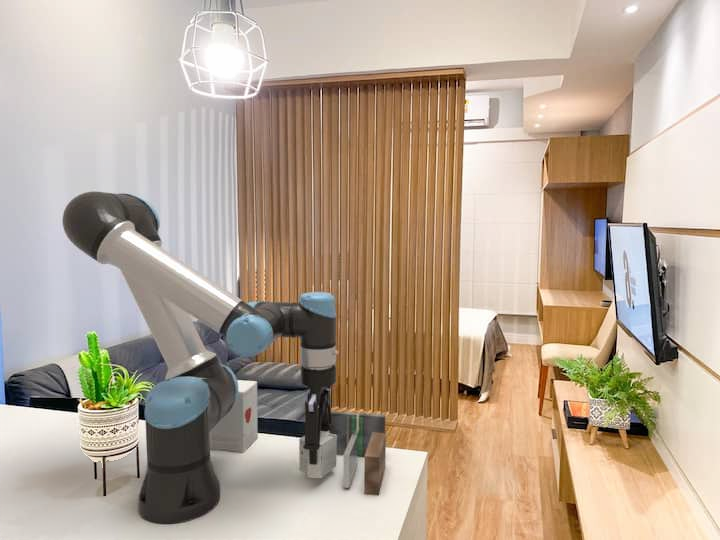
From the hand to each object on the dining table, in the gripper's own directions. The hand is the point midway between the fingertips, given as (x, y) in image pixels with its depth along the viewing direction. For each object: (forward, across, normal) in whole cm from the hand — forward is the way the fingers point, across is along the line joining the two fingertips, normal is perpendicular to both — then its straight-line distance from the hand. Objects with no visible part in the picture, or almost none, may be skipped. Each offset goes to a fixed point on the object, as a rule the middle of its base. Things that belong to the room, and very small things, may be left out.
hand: (319, 467), depth 112 cm
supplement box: (+2, +12, +24) cm, 27 cm away
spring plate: (+1, +2, -7) cm, 7 cm away
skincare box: (+1, 0, 0) cm, 1 cm away
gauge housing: (+2, +3, -7) cm, 8 cm away
